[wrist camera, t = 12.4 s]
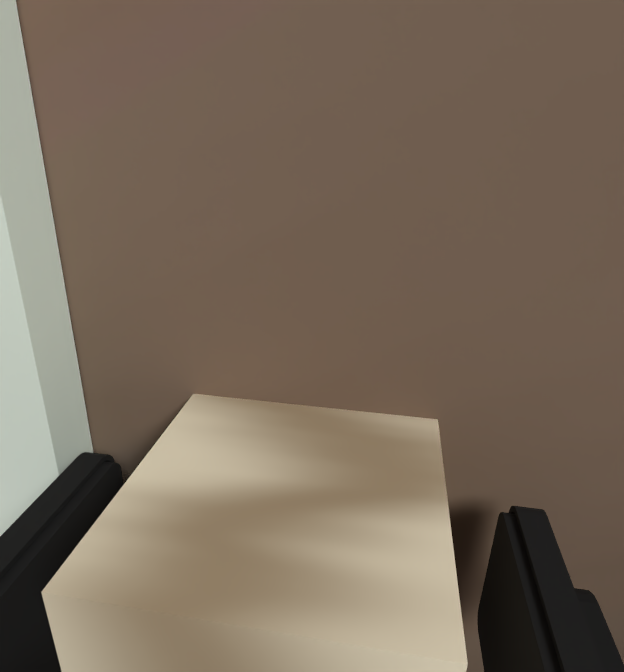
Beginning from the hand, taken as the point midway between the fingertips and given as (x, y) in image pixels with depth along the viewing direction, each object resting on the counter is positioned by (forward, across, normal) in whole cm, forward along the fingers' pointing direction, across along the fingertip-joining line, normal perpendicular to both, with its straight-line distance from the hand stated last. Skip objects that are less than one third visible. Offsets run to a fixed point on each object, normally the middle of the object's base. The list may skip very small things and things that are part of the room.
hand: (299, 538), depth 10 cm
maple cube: (+1, 0, 0) cm, 1 cm away
